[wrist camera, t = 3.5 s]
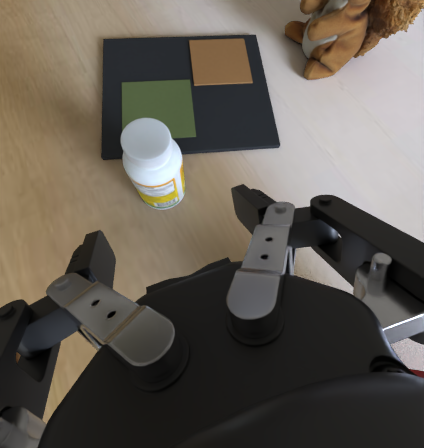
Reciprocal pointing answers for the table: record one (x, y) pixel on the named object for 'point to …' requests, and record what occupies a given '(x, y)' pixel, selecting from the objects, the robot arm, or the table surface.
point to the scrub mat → (188, 92)
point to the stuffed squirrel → (347, 30)
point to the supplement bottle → (153, 163)
